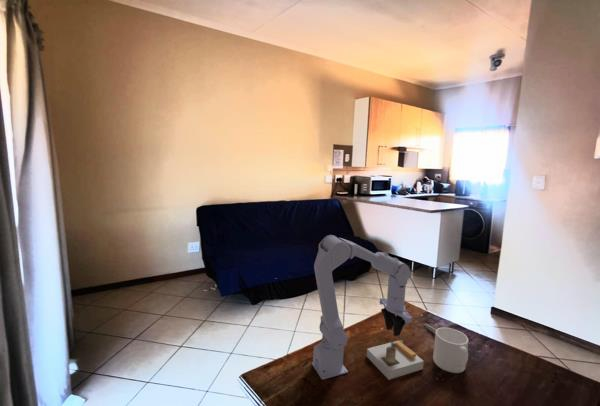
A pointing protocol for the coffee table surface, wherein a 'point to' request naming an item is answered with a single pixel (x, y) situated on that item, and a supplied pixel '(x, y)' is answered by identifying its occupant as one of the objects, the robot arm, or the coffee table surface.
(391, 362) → the peg
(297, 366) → the coffee table surface
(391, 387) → the coffee table surface
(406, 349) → the latch
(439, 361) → the mug
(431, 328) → the caliper
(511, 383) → the coffee table surface
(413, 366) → the white flat block
